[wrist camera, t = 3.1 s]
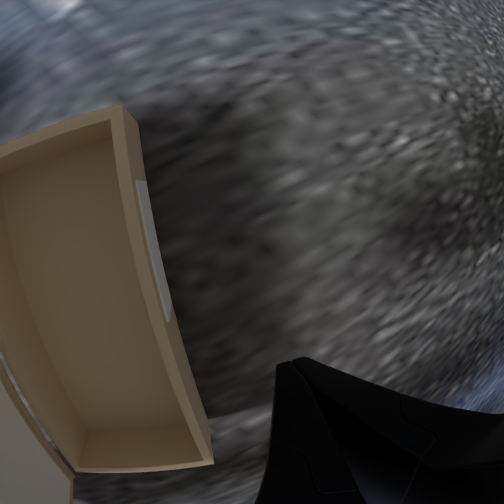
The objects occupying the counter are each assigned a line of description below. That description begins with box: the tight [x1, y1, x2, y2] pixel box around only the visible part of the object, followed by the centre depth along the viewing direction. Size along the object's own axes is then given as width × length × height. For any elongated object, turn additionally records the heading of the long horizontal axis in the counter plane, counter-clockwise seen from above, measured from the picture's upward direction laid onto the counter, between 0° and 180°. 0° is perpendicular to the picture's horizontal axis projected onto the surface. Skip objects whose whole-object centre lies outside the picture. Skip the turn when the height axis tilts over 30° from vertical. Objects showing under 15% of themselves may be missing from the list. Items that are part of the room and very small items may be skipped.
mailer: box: [0, 104, 214, 473], centre depth 13 cm, size 18×9×4 cm, turn 9°
